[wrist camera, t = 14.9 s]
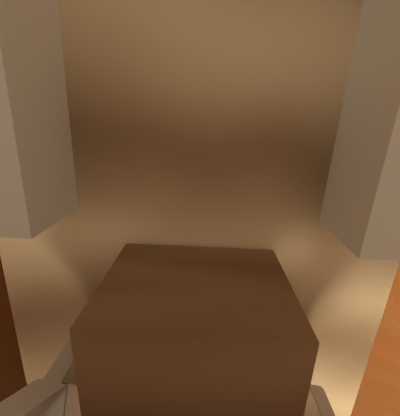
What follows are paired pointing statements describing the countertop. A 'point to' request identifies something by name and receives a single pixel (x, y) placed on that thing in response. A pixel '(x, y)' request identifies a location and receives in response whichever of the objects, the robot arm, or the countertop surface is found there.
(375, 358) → the countertop surface
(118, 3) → the board
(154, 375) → the walnut block
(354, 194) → the channel walls
